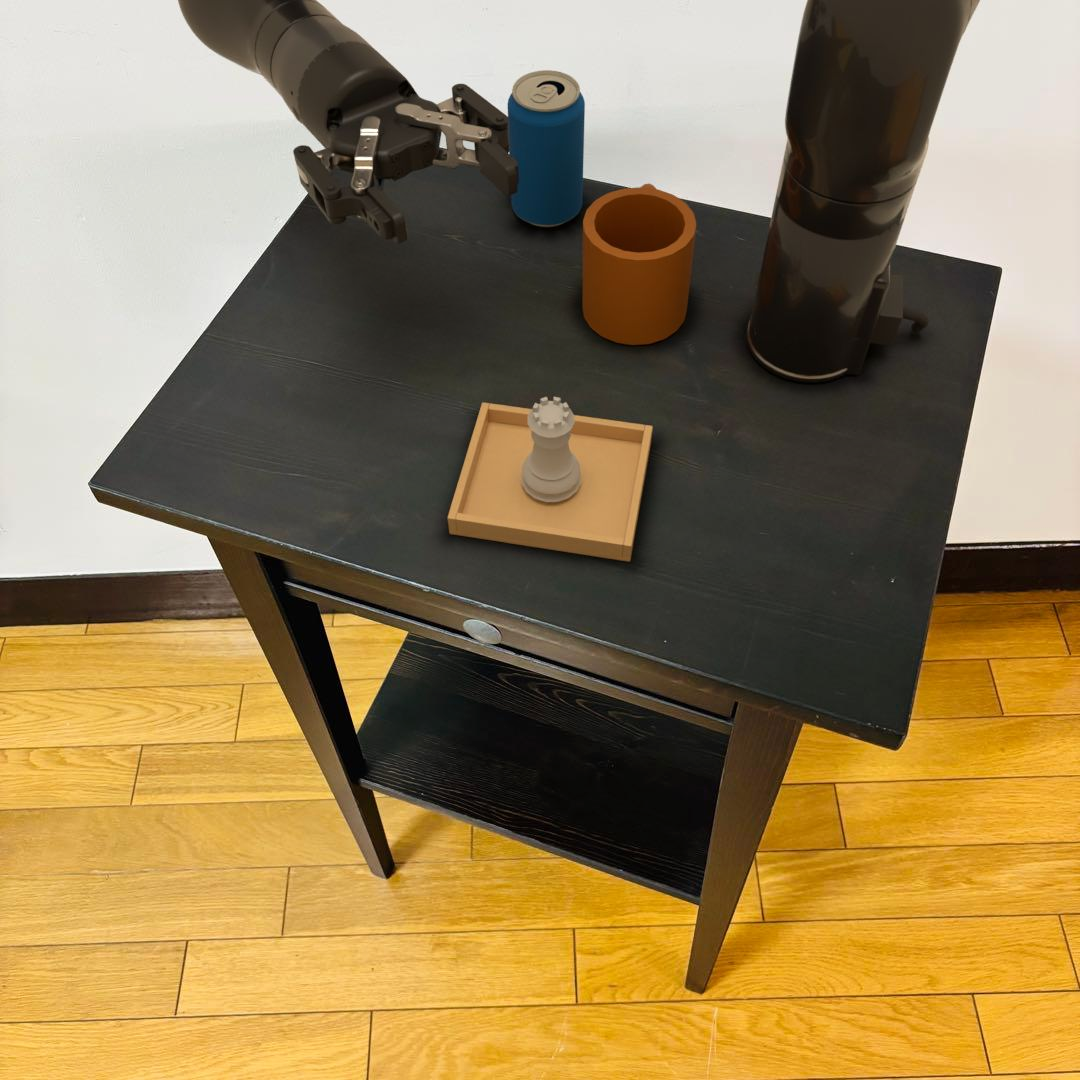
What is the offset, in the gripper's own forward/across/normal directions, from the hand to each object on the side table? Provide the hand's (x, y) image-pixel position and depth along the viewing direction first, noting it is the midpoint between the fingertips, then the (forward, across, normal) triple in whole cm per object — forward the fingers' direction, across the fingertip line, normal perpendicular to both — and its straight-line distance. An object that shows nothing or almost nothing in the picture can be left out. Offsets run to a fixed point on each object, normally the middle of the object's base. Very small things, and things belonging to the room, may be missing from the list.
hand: (458, 207), depth 70 cm
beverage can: (-16, +18, +18) cm, 30 cm away
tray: (+11, 0, +18) cm, 21 cm away
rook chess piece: (+11, 0, +18) cm, 21 cm away
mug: (-2, +18, +18) cm, 26 cm away
